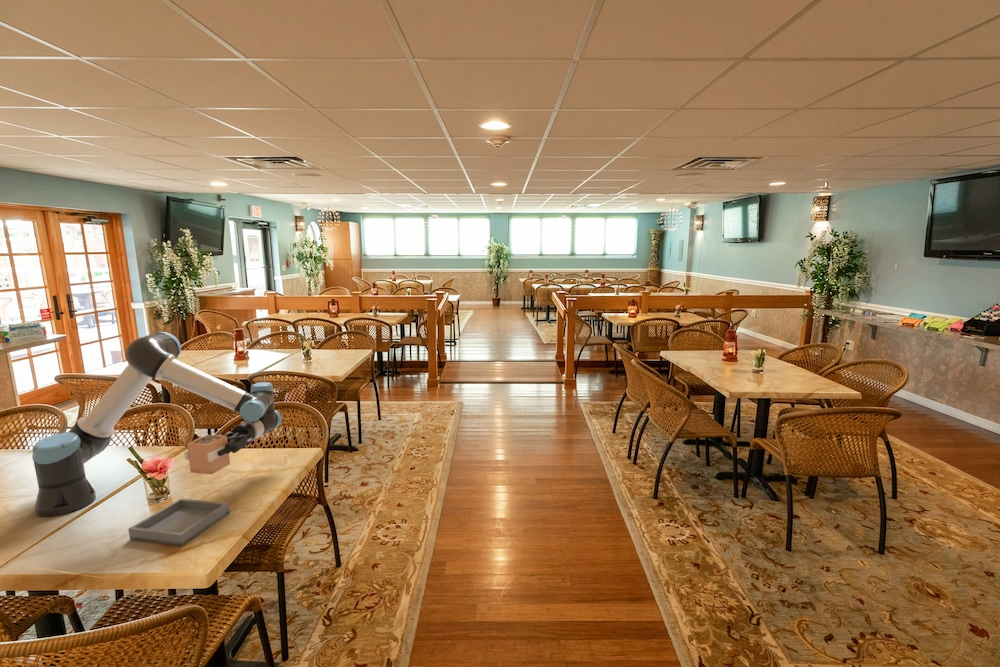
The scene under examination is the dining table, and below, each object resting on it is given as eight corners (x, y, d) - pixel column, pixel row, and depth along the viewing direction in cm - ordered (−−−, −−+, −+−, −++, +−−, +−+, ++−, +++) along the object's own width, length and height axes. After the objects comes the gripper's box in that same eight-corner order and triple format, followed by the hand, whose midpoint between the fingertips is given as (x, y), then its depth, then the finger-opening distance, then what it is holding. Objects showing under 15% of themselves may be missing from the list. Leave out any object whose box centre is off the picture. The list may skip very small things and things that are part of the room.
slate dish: (130, 539, 139) (128, 528, 138) (182, 508, 156) (180, 498, 156) (182, 546, 135) (180, 535, 135) (229, 513, 153) (228, 503, 152)
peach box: (190, 472, 156) (186, 440, 154) (209, 462, 163) (206, 431, 162) (211, 474, 154) (207, 442, 152) (230, 464, 162) (226, 433, 160)
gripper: (273, 443, 174) (226, 470, 152) (223, 439, 178) (171, 465, 156) (271, 423, 172) (223, 448, 150) (221, 420, 177) (168, 443, 155)
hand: (197, 456), depth 153 cm, fingers closed on peach box, 8 cm apart
